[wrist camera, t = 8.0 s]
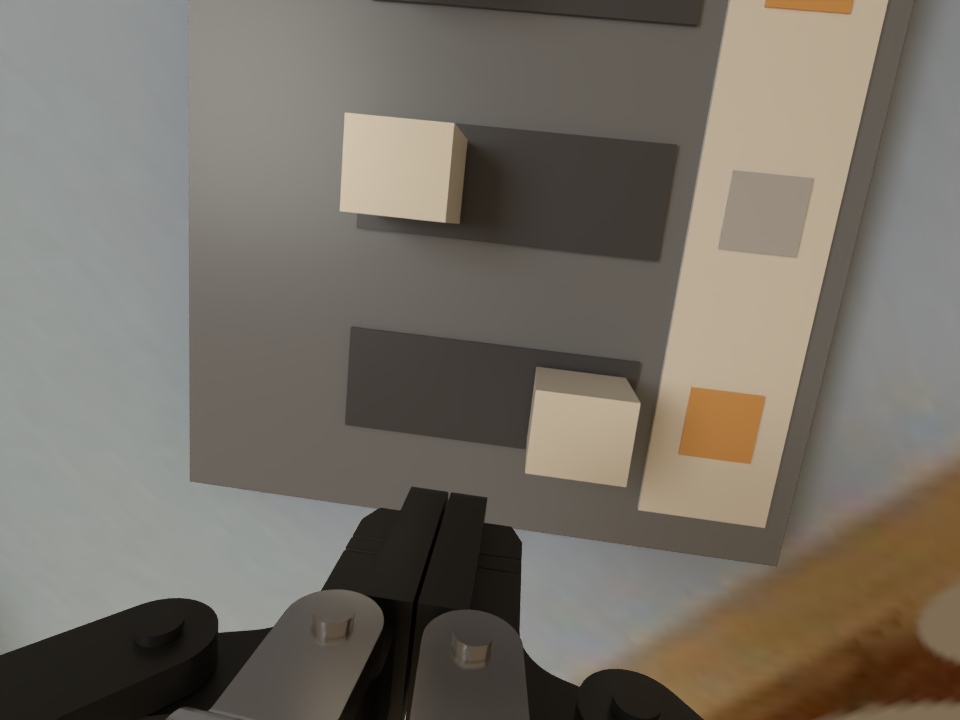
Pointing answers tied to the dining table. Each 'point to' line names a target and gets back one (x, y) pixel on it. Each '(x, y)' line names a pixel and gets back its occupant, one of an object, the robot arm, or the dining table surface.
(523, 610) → the dining table surface
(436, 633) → the robot arm
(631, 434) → the switch
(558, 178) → the switch panel
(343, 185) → the switch
